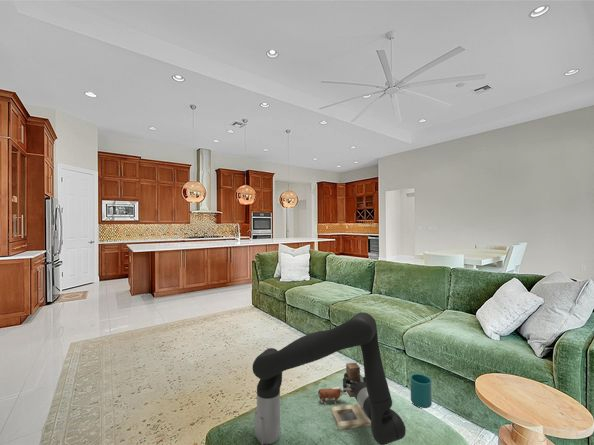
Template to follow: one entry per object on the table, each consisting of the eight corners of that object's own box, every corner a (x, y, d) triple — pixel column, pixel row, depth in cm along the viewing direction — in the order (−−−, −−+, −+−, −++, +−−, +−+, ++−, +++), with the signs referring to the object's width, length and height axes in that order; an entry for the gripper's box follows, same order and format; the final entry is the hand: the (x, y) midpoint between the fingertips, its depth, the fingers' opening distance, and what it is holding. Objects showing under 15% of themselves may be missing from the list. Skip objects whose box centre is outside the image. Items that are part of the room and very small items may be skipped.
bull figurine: (347, 407, 128) (347, 389, 128) (318, 406, 128) (318, 389, 128) (346, 401, 132) (346, 384, 132) (317, 400, 132) (317, 383, 133)
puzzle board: (339, 431, 112) (339, 426, 112) (330, 412, 124) (330, 407, 124) (389, 425, 116) (389, 419, 116) (376, 406, 128) (376, 401, 128)
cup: (423, 393, 138) (423, 370, 139) (435, 408, 126) (435, 384, 127) (405, 393, 138) (405, 370, 139) (415, 409, 126) (415, 384, 127)
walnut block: (350, 397, 117) (349, 368, 117) (346, 391, 121) (346, 363, 122) (360, 396, 118) (359, 367, 118) (356, 390, 122) (355, 362, 122)
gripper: (384, 386, 107) (365, 364, 124) (348, 389, 104) (335, 367, 121) (384, 405, 107) (366, 381, 123) (349, 409, 104) (335, 384, 121)
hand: (350, 374), depth 122 cm, fingers closed on walnut block, 4 cm apart
